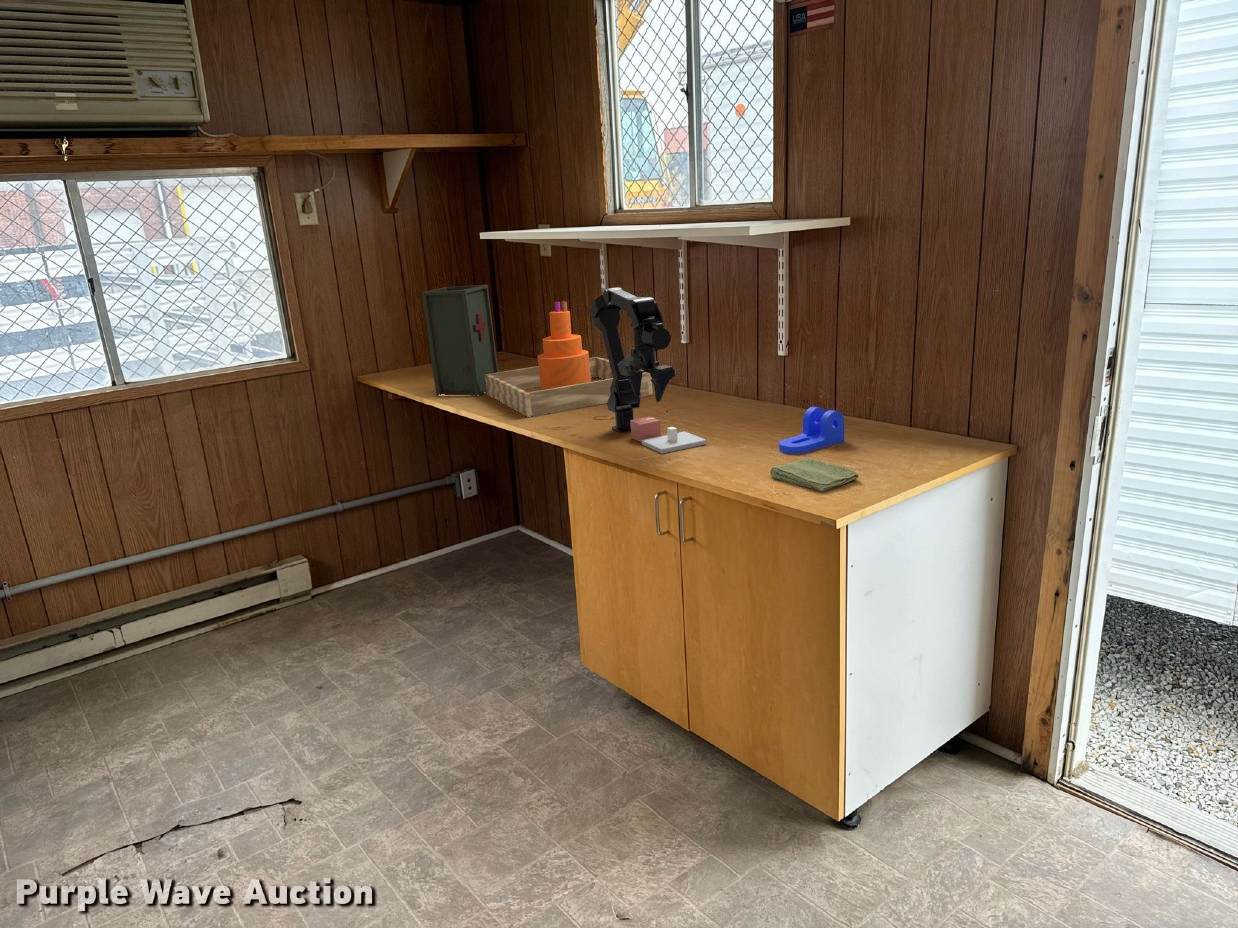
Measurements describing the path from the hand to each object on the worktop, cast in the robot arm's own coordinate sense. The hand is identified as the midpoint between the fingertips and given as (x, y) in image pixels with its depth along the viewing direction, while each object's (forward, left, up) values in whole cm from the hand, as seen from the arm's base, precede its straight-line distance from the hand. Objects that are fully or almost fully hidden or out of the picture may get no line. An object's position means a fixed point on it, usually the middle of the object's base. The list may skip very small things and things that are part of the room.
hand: (647, 399), depth 237 cm
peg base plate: (+8, +3, -12) cm, 15 cm away
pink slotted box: (-3, 0, -12) cm, 12 cm away
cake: (-77, +5, -12) cm, 78 cm away
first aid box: (-114, -22, -12) cm, 116 cm away
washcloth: (+56, +14, -13) cm, 59 cm away
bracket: (+33, +30, -12) cm, 47 cm away
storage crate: (-77, +5, -12) cm, 78 cm away
